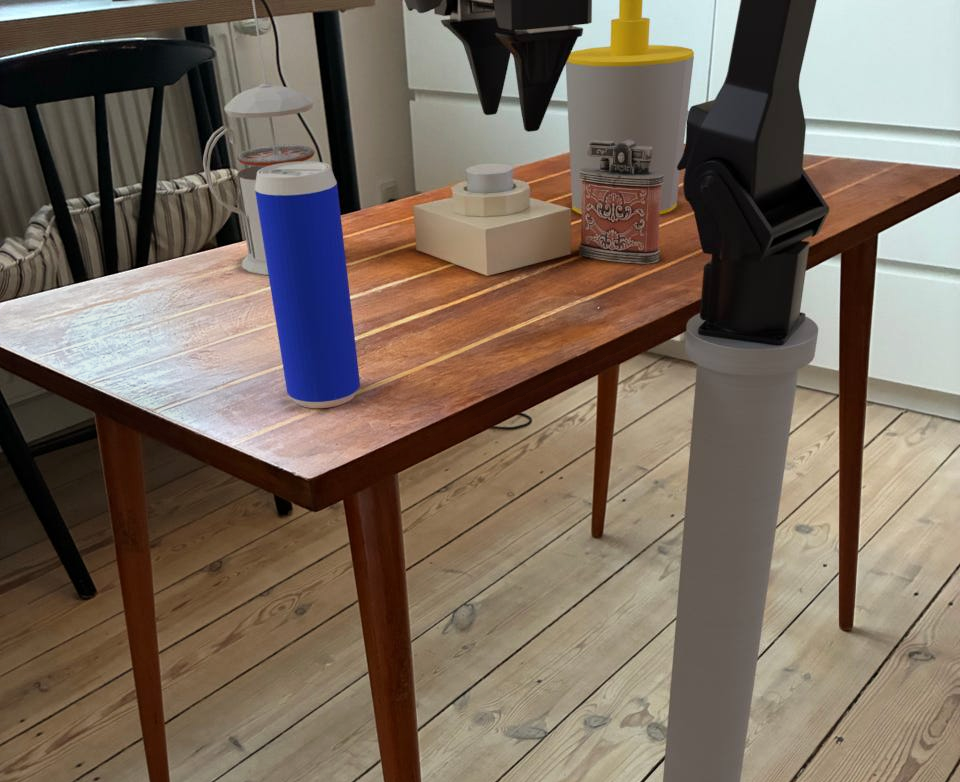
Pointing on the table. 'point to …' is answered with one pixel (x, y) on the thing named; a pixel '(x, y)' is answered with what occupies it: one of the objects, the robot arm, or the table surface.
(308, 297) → the beverage can
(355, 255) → the table surface
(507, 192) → the push button base
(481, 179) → the grey push button
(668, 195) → the white tapered piece
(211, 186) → the french press
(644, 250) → the lighter
